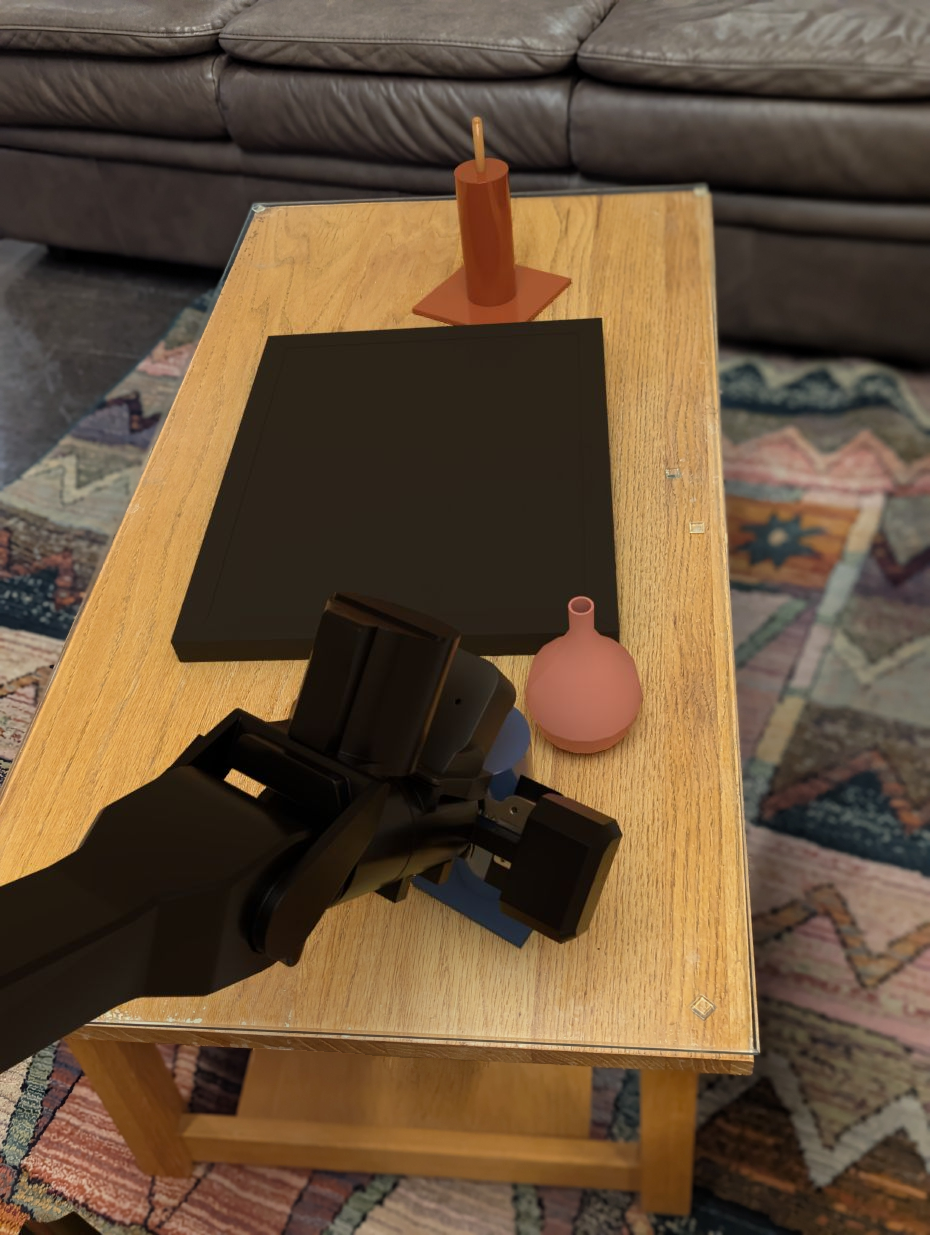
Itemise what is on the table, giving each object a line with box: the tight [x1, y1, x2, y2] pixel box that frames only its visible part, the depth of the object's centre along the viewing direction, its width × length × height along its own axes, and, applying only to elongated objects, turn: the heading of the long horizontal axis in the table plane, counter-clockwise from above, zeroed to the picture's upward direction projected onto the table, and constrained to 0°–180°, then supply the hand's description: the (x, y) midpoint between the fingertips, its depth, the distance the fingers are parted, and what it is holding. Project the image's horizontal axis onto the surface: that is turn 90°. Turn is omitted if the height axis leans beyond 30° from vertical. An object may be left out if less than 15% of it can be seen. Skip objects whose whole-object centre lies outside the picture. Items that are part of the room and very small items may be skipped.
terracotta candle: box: [453, 116, 517, 306], centre depth 105 cm, size 5×5×18 cm
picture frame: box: [170, 317, 621, 663], centre depth 92 cm, size 40×2×33 cm
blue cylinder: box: [455, 705, 536, 900], centre depth 62 cm, size 5×5×13 cm
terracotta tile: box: [411, 263, 572, 326], centre depth 112 cm, size 12×12×1 cm
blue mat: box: [411, 859, 534, 950], centre depth 67 cm, size 8×8×1 cm
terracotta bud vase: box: [524, 597, 644, 754], centre depth 69 cm, size 8×8×12 cm
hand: (503, 785), depth 63 cm, fingers closed on blue cylinder, 5 cm apart
